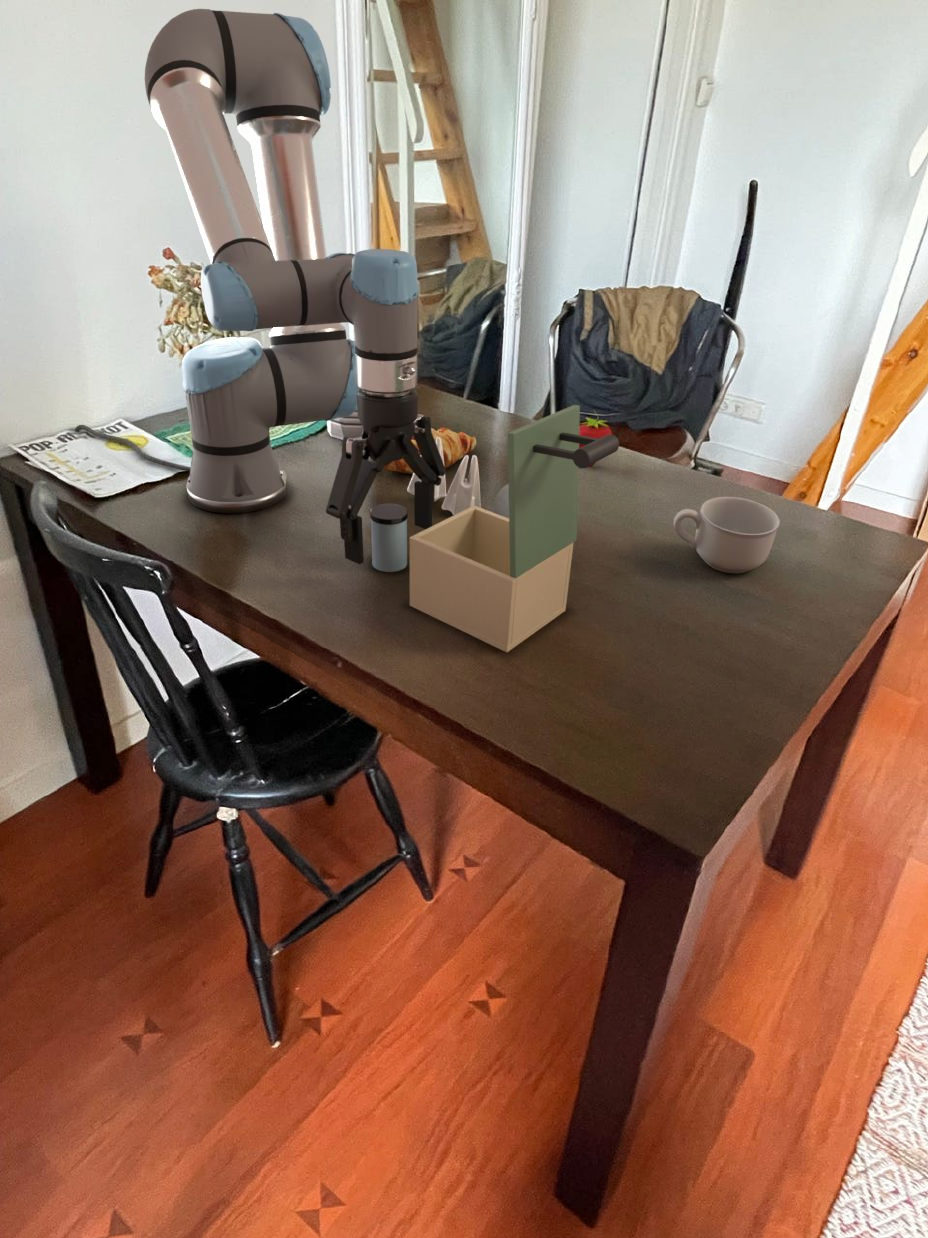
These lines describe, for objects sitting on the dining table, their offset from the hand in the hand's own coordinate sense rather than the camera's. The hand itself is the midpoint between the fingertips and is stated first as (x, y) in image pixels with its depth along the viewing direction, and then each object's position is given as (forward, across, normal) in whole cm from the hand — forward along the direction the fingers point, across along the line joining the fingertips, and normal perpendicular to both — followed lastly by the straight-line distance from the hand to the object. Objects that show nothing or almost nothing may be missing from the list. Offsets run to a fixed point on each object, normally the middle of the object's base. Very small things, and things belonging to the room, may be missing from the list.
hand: (390, 543), depth 113 cm
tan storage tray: (+4, 0, -17) cm, 17 cm away
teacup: (+4, +32, -34) cm, 47 cm away
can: (+3, +34, +41) cm, 53 cm away
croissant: (+3, +31, +20) cm, 37 cm away
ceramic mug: (+4, +21, -9) cm, 23 cm away
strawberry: (+3, +50, -1) cm, 50 cm away
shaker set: (+3, +19, +7) cm, 21 cm away
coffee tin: (+3, 0, 0) cm, 3 cm away
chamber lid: (-15, 0, -24) cm, 28 cm away
